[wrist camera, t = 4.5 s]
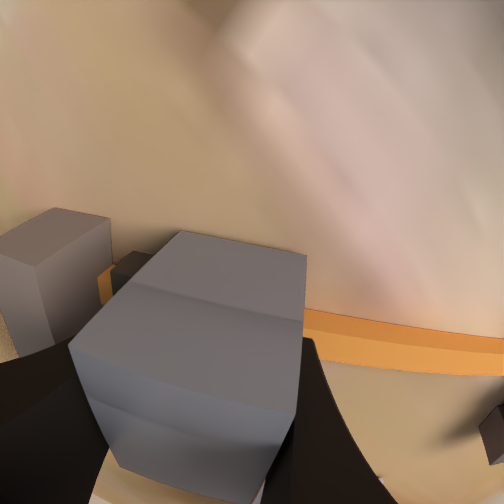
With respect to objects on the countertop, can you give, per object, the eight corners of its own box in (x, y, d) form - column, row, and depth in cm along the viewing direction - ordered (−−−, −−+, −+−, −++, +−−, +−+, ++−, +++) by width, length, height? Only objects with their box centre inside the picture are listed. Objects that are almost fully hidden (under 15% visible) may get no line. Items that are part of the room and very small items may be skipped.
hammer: (533, 386, 10) (556, 435, 7) (70, 307, 13) (19, 357, 9) (579, 314, 8) (615, 361, 4) (54, 207, 11) (-18, 246, 7)
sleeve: (275, 376, 12) (249, 506, 6) (179, 352, 12) (119, 466, 7) (307, 255, 9) (295, 414, 4) (181, 230, 10) (67, 344, 5)
